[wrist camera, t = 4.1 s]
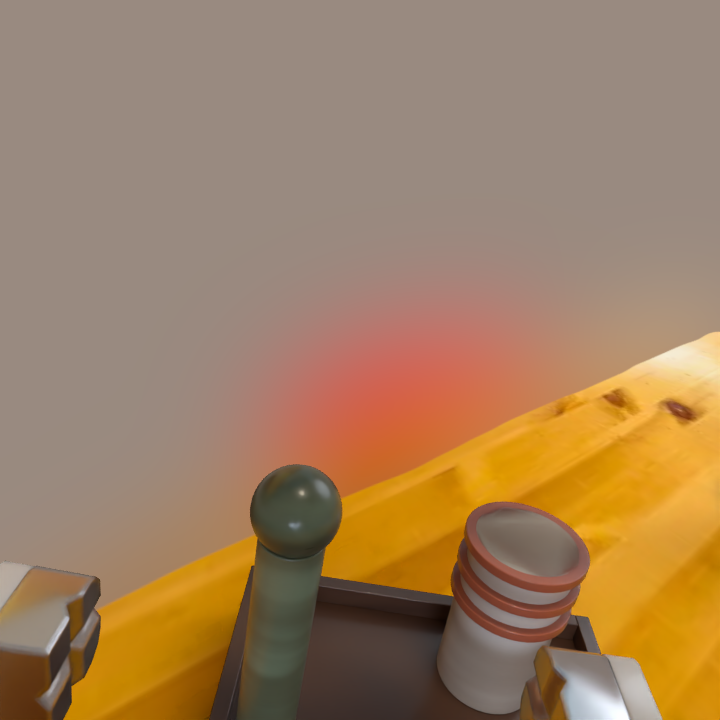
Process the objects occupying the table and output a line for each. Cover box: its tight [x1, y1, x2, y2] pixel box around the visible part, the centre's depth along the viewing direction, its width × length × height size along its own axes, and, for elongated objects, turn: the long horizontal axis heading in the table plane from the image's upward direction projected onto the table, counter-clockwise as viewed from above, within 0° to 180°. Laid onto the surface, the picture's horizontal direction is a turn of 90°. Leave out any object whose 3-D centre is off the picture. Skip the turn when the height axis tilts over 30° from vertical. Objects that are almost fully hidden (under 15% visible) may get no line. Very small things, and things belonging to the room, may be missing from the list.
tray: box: [209, 464, 601, 720], centre depth 27 cm, size 20×20×16 cm
